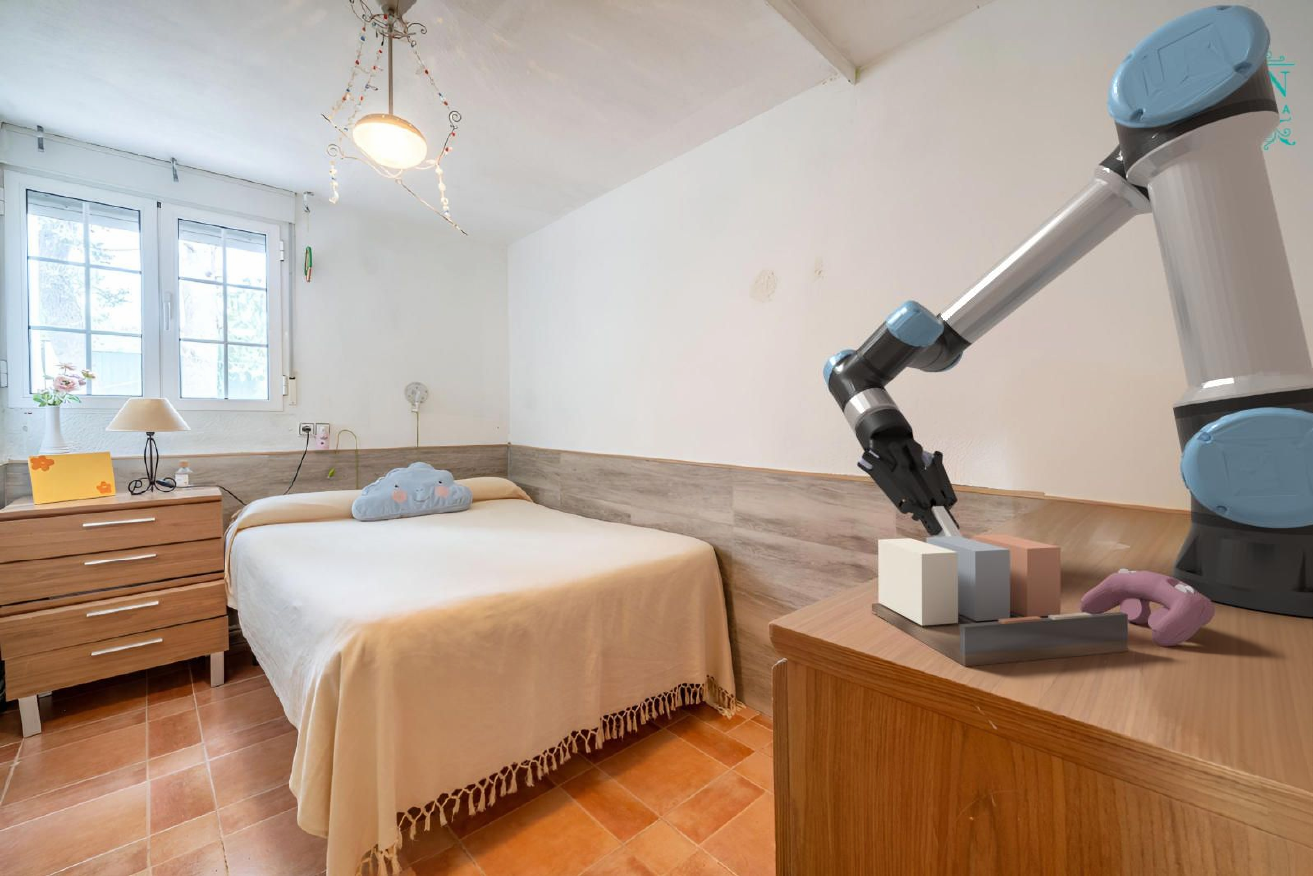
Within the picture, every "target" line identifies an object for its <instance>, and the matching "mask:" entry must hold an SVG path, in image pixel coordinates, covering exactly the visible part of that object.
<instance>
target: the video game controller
mask: <svg viewBox="0 0 1313 876" xmlns="http://www.w3.org/2000/svg"><path fill="white" fill-rule="evenodd" d="M1151 602H1152V603H1155V604H1159V605H1160V606H1162V607H1161V608H1158V609H1156V610H1154V611H1152V612H1151V607H1150V603H1151ZM1118 606H1119V612H1122V613H1126V614H1128V622H1131V623H1133V624H1135V623H1136V625H1143V624H1146V623H1147V624H1148V626H1149V627H1150V628H1151V630H1152V632H1151V638H1152V640H1153V642H1154V643H1155V644H1156V645H1158V646H1160V647H1173V646H1177V645H1179V644H1182V643H1184V642H1186V641H1187V640H1189V639H1191V638H1192V637H1193V636H1194V635H1195V634H1196V633H1197V632H1198V631H1199V630H1200V628H1201V627H1204V626H1206V625H1207V624H1209V623H1210V622H1211V621H1212V620H1213V617H1214V616H1215V613H1216V612H1215V611H1216V609H1215V608H1216V607H1215V605H1214V603H1213V602H1212V600H1209V599H1208V598H1207V597H1205V596H1204V595H1202V594H1200V593H1199V592H1198V591H1196V590H1195V589H1194V588H1192V587H1191V586H1189V585H1187V584H1185V583H1184V582H1181V581H1179V580H1177V579H1175V578H1172V576H1169V575H1166V574H1163V573H1158V572H1155V571H1154V572H1153V571H1150V570H1139V571H1137V570H1129V569H1127V568H1121V569H1119V570H1118V572H1113V573H1112V574H1110V575H1108V576H1107V577H1105V579H1104V580H1103V581H1101V582H1100V583H1099V584H1098V585H1097V586H1095V587H1093V588H1092V589H1090V590H1088V592H1086V593H1085V594H1084V595H1083V596H1082V598H1081V599H1080V602H1079V609H1080V611H1081V613H1088V614H1101V613H1108V611H1109V612H1110V610H1113V609H1114V608H1117V607H1118Z"/></svg>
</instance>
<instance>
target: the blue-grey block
mask: <svg viewBox="0 0 1313 876" xmlns="http://www.w3.org/2000/svg"><path fill="white" fill-rule="evenodd" d="M925 539H926V541H925V543H928V544H932V545H935V546H939V547H942V548H945V549H949V550H952V551H955V552H958V613H959V614H961V615H963V616H965V617H967V618H970V619H972V620H974V621H984V620H997V619H1007V618H1010V549H1006V548H1002V547H998V546H994V545H990V544H986V543H982V542H979V541H975V540H973V539H969V538H966V537H964V536H963V537H959V536H948V537H934V536H928V537H926V538H925Z"/></svg>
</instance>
